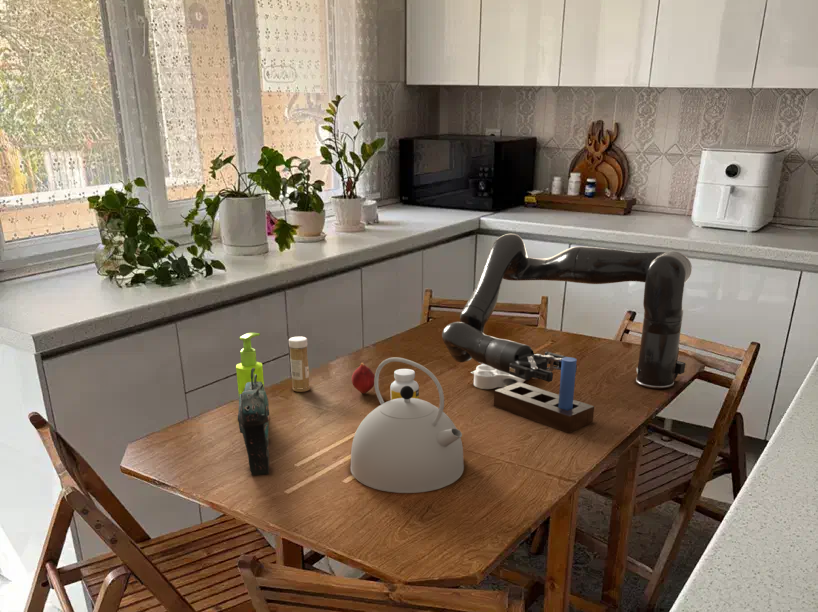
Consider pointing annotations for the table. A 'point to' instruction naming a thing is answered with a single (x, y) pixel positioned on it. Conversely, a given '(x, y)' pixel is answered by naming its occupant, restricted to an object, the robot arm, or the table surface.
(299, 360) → the sprinkles bottle
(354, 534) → the table surface
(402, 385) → the pill bottle
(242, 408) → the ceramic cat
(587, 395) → the table surface
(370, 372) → the onion
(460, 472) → the kettle
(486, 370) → the white multi-cup tray
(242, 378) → the soap dispenser
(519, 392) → the rack
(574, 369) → the peg
